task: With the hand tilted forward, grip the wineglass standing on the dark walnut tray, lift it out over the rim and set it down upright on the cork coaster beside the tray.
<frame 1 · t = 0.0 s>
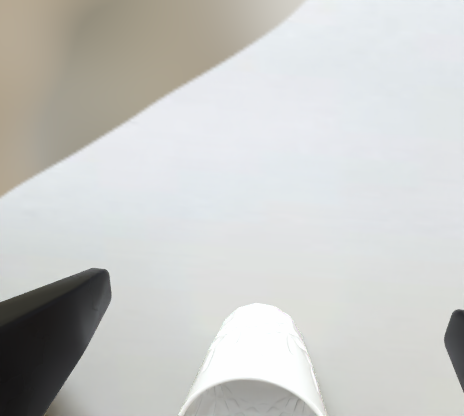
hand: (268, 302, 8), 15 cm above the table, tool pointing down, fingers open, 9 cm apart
white cup: (260, 341, 24), on the table
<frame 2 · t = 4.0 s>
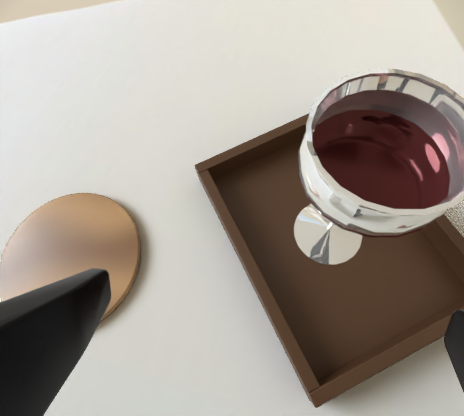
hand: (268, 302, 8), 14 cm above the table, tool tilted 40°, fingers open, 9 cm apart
coaster: (72, 259, 24), on the table
wineglass: (327, 232, 23), resting on tray
tray: (326, 232, 23), on the table
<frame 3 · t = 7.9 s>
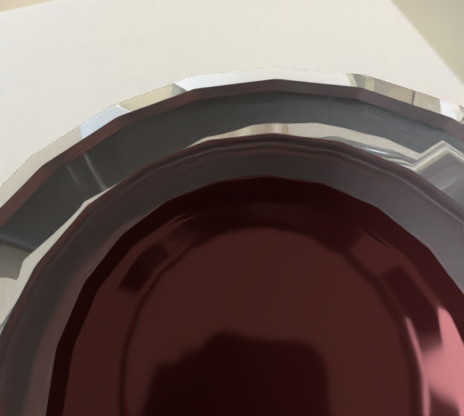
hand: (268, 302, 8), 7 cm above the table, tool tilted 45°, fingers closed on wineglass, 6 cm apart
wineglass: (259, 356, 13), resting on tray, touching gripper
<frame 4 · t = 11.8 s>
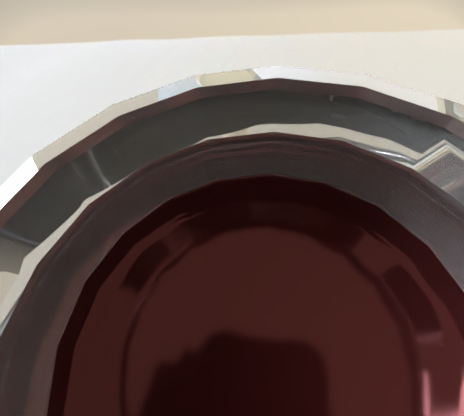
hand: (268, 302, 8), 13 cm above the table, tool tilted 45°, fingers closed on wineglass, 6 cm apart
wineglass: (259, 356, 13), point 6 cm above the table, touching gripper
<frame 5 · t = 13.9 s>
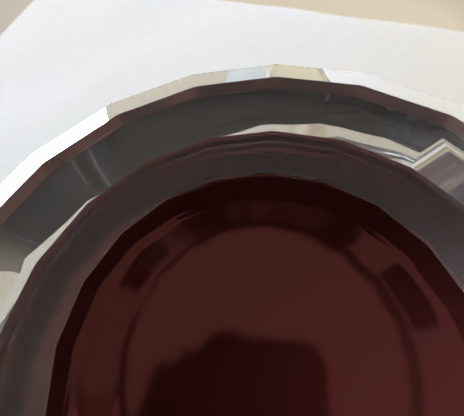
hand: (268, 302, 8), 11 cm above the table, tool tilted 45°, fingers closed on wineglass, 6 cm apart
wineglass: (259, 356, 13), point 5 cm above the table, touching gripper
when the fingers open (7 cm above the table, at t = 15.6 s): wineglass stays where it is, resting on coaster.
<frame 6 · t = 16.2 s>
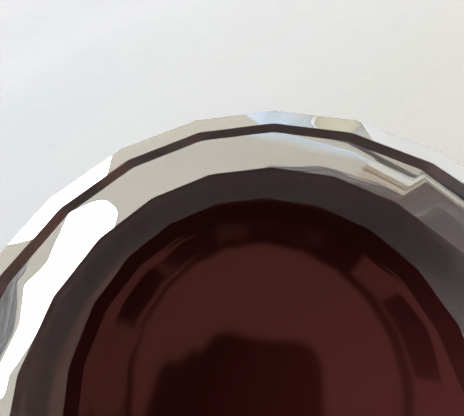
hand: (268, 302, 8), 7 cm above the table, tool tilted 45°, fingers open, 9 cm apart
wineglass: (259, 362, 14), resting on coaster
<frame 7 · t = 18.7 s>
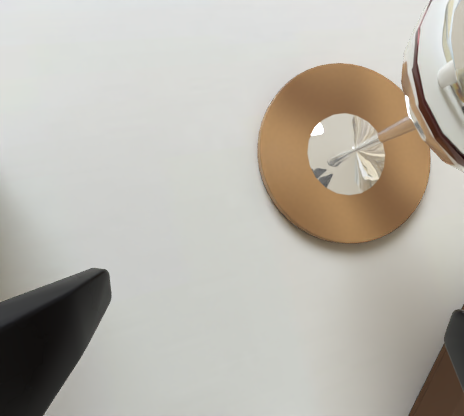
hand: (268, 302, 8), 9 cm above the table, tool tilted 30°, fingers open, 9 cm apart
coaster: (343, 153, 19), on the table
wineglass: (345, 154, 18), resting on coaster
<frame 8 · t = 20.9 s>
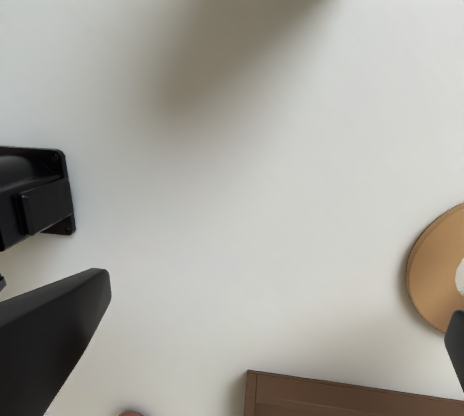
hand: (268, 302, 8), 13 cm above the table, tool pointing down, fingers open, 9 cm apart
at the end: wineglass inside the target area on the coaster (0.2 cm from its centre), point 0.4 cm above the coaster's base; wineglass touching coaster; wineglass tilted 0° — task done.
